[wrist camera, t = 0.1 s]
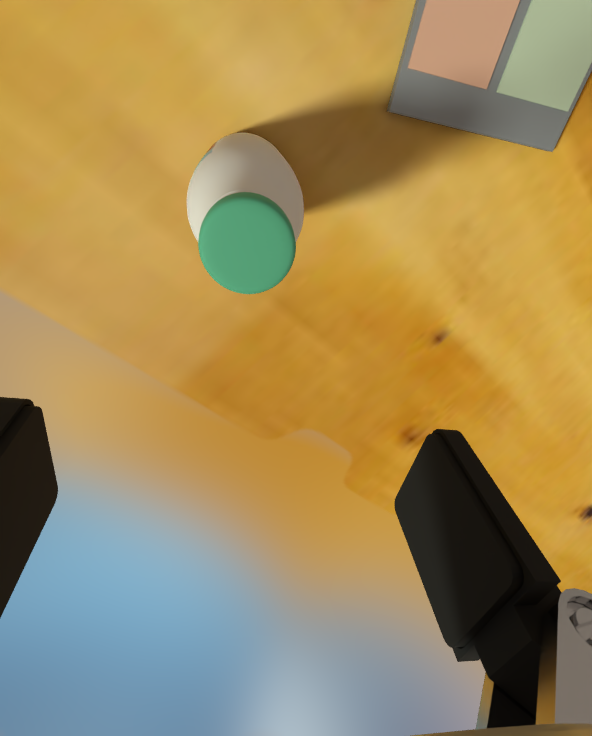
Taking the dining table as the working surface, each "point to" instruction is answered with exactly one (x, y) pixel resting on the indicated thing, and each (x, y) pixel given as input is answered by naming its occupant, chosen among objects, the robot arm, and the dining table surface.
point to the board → (496, 66)
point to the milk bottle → (245, 213)
